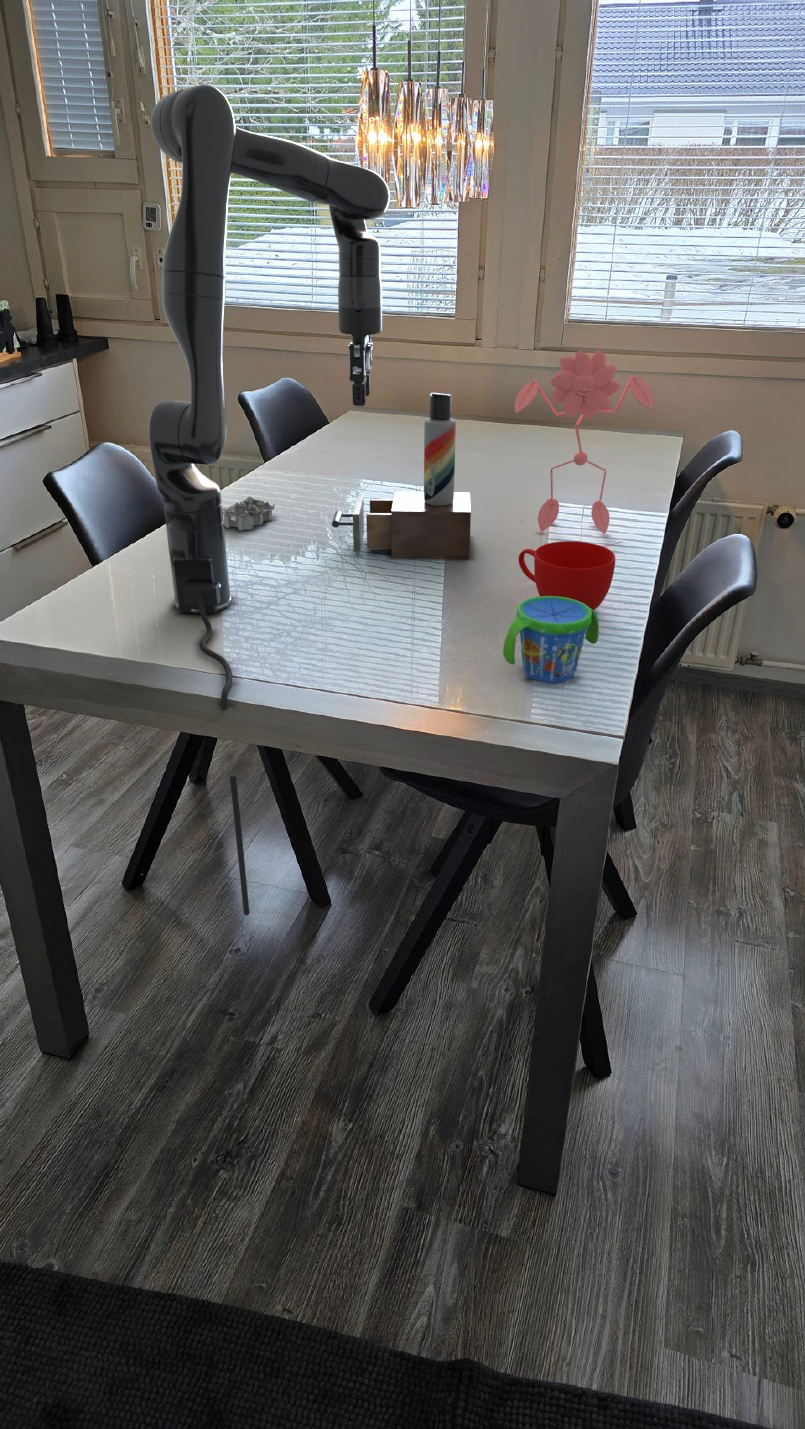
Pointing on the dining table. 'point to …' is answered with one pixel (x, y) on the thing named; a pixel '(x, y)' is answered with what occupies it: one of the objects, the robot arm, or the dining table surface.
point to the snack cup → (551, 636)
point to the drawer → (369, 523)
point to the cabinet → (430, 527)
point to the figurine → (583, 413)
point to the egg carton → (247, 514)
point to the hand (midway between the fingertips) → (361, 400)
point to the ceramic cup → (571, 571)
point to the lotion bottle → (439, 452)
